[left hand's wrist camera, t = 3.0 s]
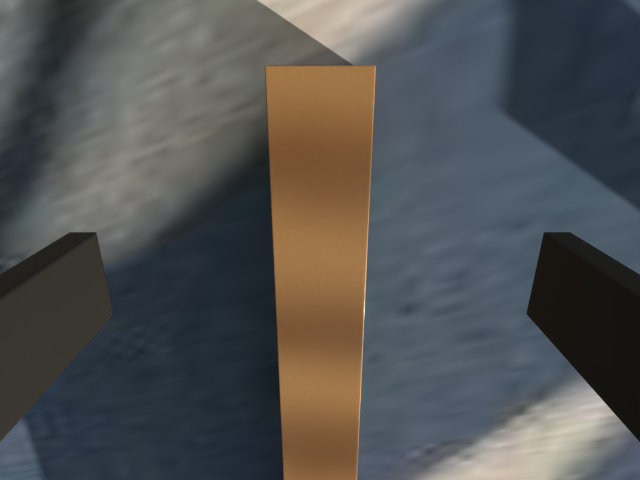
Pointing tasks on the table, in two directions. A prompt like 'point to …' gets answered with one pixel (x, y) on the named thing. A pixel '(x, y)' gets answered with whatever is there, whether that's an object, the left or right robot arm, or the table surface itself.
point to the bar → (320, 258)
